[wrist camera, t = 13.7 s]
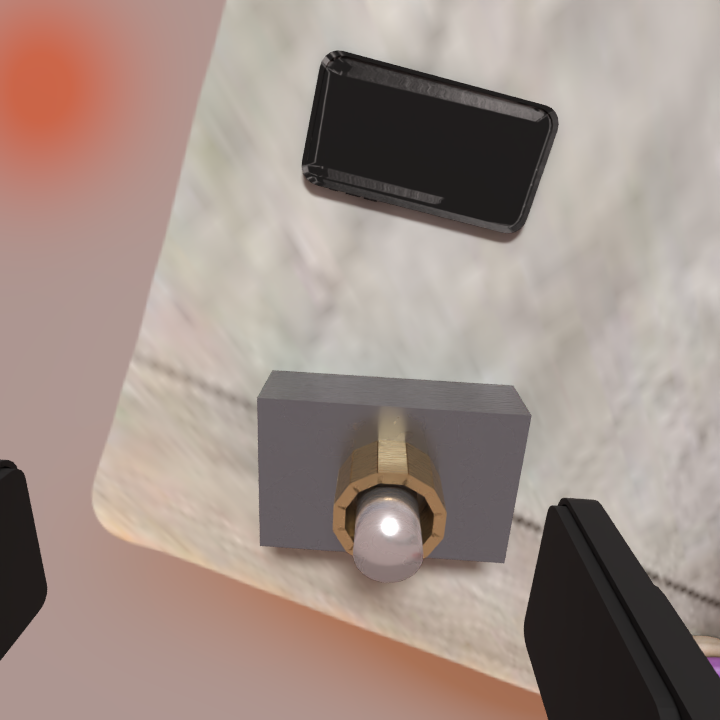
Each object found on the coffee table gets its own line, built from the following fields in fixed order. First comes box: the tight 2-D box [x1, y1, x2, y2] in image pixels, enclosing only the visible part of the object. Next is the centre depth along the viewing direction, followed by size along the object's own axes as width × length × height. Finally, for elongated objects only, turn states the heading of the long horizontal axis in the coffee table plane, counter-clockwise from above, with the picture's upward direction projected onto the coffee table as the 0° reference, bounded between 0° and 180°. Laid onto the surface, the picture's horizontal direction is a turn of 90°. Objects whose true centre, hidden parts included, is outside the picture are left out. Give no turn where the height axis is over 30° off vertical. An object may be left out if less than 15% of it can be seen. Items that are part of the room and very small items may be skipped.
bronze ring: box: [333, 440, 447, 559], centre depth 34 cm, size 7×7×4 cm
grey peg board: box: [257, 371, 531, 583], centre depth 35 cm, size 18×12×12 cm, turn 87°
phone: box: [302, 51, 559, 233], centre depth 33 cm, size 8×1×15 cm
